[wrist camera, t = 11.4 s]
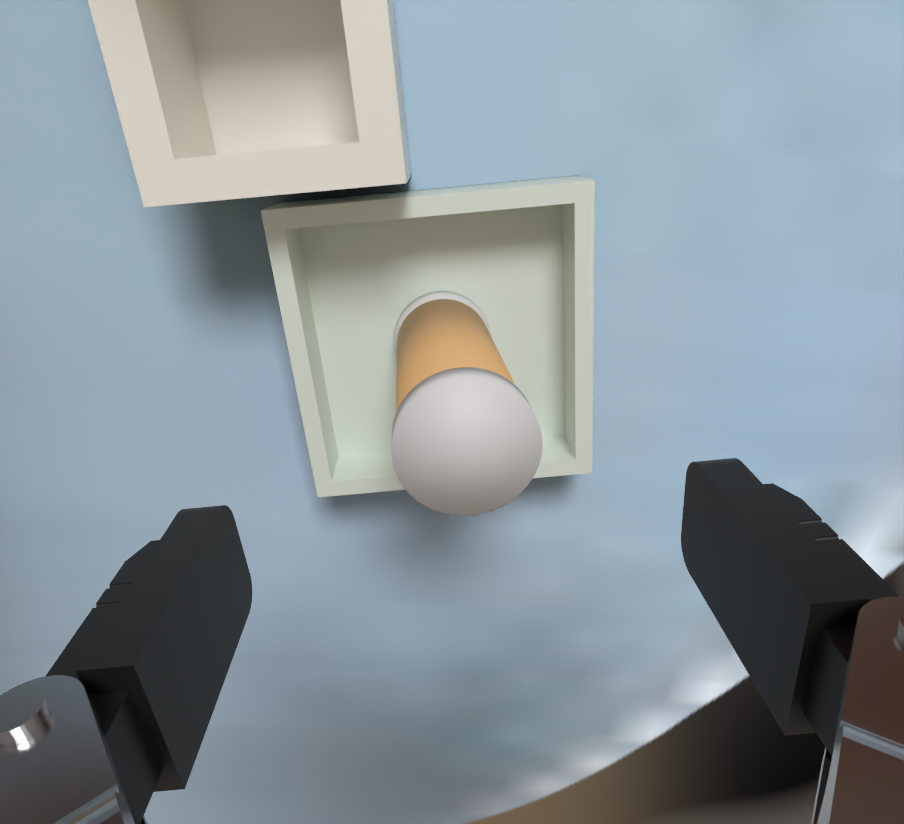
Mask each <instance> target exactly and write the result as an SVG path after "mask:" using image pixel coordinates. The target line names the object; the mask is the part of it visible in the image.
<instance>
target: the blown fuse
mask: <svg viewBox="0 0 904 824" xmlns="http://www.w3.org/2000/svg"><path fill="white" fill-rule="evenodd" d="M394 352H395V356H396V359H397V379H396V415H395V418H394V422H393V426H392V446H391V453H392V462H393V466H394V470H395V472H396V475H397V477H398V479H399V481H400V483H401V484H402V486H403V487H404V488H405V490H406V491H407V492H408V493H409V494H410V495H411V496H412V497H413V498H414V499H415V500H417V501H418V502H419V503H421V504H423V505H424V506H426V507H428V508H430V509H432V510H435V511H437V512H441V513H445V514H450V515H459V516H468V515H477V514H482V513H486V512H489V511H493V510H495V509H497V508H499V507H502V506H503V505H505V504H507V503H509V502H510V501H511V500H513V499H514V498H516V497H517V496H518V495H519V494H520V493H521V492H522V491H523V490H524V489H525V488H526V487H527V486H528V484H529V483H530V482H531V480H532V478H533V477H534V475H535V473H536V471H537V469H538V466H539V463H540V460H541V455H542V444H543V441H542V432H541V429H540V425H539V422H538V420H537V418H536V416H535V414H534V412H533V410H532V408H531V406H530V404H529V402H528V400H527V399H526V397H525V396H524V394H523V393H522V392H521V391H520V389H519V388H518V387H517V386H516V385H515V383H514V381H513V379H512V377H511V375H510V373H509V371H508V369H507V367H506V365H505V363H504V361H503V359H502V357H501V355H500V353H499V351H498V349H497V347H496V345H495V343H494V341H493V339H492V336H491V331H490V327H489V325H488V323H487V321H486V319H485V317H484V315H483V313H482V312H481V310H480V309H479V308H478V306H477V305H476V304H475V303H473V302H472V301H471V300H470V299H468V298H467V297H465V296H463V295H460V294H458V293H454V292H450V291H435V292H430V293H427V294H424V295H422V296H420V297H418V298H416V299H415V300H413V301H412V302H411V303H410V304H408V305H407V307H406V308H405V309H404V310H403V311H402V313H401V314H400V316H399V318H398V320H397V323H396V326H395V331H394Z"/></svg>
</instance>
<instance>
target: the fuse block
mask: <svg viewBox="0 0 904 824" xmlns="http://www.w3.org/2000/svg"><path fill="white" fill-rule="evenodd" d="M88 3H89V7H90V10H91V14H92V18H93V21H94V25H95V29H96V32H97V36H98V40H99V43H100V47H101V51H102V54H103V58H104V62H105V65H106V69H107V73H108V76H109V80H110V84H111V87H112V91H113V95H114V99H115V102H116V106H117V110H118V113H119V117H120V121H121V124H122V128H123V132H124V135H125V139H126V143H127V146H128V150H129V154H130V157H131V161H132V165H133V168H134V172H135V176H136V179H137V183H138V187H139V191H140V194H141V198H142V202H143V205H144V207H153V206H164V205H175V204H186V203H197V202H208V201H219V200H230V199H241V198H252V197H263V196H274V195H285V194H296V193H307V192H318V191H329V190H340V189H350V188H361V187H372V186H383V185H394V184H405V183H407V182H408V180H409V178H410V176H411V168H410V158H409V149H408V139H407V129H406V120H405V110H404V100H403V91H402V81H401V71H400V61H399V52H398V42H397V32H396V23H395V13H394V3H393V0H88Z"/></svg>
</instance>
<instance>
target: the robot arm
mask: <svg viewBox="0 0 904 824" xmlns="http://www.w3.org/2000/svg"><path fill="white" fill-rule="evenodd" d="M681 545H682V552H683V557H684V561H685V564H686V567H687V569H688V571H689V573H690V575H691V577H692V578H693V580H694V582H695V583H696V585H697V587H698V589H699V590H700V592H701V594H702V595H703V597H704V599H705V600H706V602H707V604H708V606H709V607H710V609H711V611H712V612H713V614H714V616H715V617H716V619H717V621H718V623H719V624H720V626H721V628H722V629H723V631H724V633H725V634H726V636H727V638H728V639H729V641H730V643H731V645H732V646H733V648H734V650H735V651H736V653H737V655H738V656H739V658H740V660H741V662H742V663H743V665H744V667H745V668H746V670H747V672H748V673H749V675H750V677H751V678H752V680H753V682H754V683H755V685H756V687H757V688H758V690H759V692H760V694H761V695H762V697H763V699H764V701H765V702H766V704H767V705H768V707H769V709H770V711H771V712H772V714H773V716H774V717H775V719H776V721H777V723H778V724H779V726H780V727H781V729H782V731H783V733H784V734H785V735H794V734H806V733H817V734H818V736H819V737H820V739H821V740H822V741H823V743H824V745H825V747H826V749H825V753H824V757H823V761H822V766H821V772H820V778H819V783H818V789H817V794H816V800H815V805H814V811H813V817H812V822H811V824H904V597H900V596H899V595H898V594H897V593H896V592H895V591H894V590H893V589H892V588H891V587H890V586H889V585H888V584H887V583H886V582H885V581H884V580H883V579H882V578H881V577H880V576H879V575H878V574H877V573H876V572H875V571H874V570H873V569H872V568H871V567H870V566H869V565H868V564H867V563H866V562H865V561H864V560H863V559H862V558H861V557H860V556H859V555H858V554H857V553H856V552H855V551H854V550H853V549H852V548H851V547H850V546H849V545H848V544H847V543H846V542H845V541H844V540H843V539H840V540H839V538H838V535H837V534H836V533H835V532H834V531H833V530H832V529H831V528H830V527H829V526H828V525H827V524H826V523H822V521H821V518H820V517H819V516H818V515H817V514H816V513H815V512H814V511H813V510H812V509H811V508H810V507H809V506H808V505H807V504H806V503H805V502H804V501H803V500H802V499H801V498H799V497H797V496H795V495H793V494H791V493H789V492H788V491H786V490H784V489H782V488H780V487H778V486H776V485H774V484H762V483H761V482H760V481H759V480H758V479H757V478H756V477H755V476H754V474H753V473H752V472H751V471H750V470H749V469H748V468H747V467H746V466H745V465H744V464H743V463H742V462H741V461H740V460H739V459H737V458H731V459H720V460H710V461H699V462H692V463H690V465H689V466H688V469H687V473H686V483H685V495H684V507H683V519H682V531H681ZM251 602H252V583H251V577H250V573H249V569H248V565H247V562H246V558H245V555H244V551H243V548H242V544H241V541H240V537H239V534H238V530H237V526H236V523H235V519H234V516H233V514H232V511H231V510H230V508H229V507H228V506H225V505H223V506H212V507H202V508H191V509H183V510H181V511H179V512H178V514H177V515H176V516H175V518H174V520H173V521H172V523H171V524H170V526H169V527H168V529H167V530H166V532H165V533H164V535H163V536H162V538H161V540H157V541H150V542H149V543H148V544H147V545H145V546H144V547H143V548H142V549H140V550H139V551H138V552H137V553H135V554H134V555H133V556H132V557H130V558H129V559H128V560H127V561H125V563H124V564H123V566H122V567H121V569H120V570H119V571H118V573H117V574H116V576H115V577H114V579H113V580H112V581H111V583H110V588H109V589H106V590H105V592H104V593H103V594H102V596H101V597H100V599H99V600H98V602H97V603H96V604H97V607H96V608H93V609H92V610H91V612H90V613H89V615H88V616H87V617H86V619H85V620H84V622H83V623H82V625H81V626H80V627H79V629H78V630H77V632H76V633H75V635H74V636H73V638H72V639H71V640H70V642H69V643H68V645H67V646H66V648H65V649H64V650H63V652H62V653H61V655H60V656H59V658H58V659H57V661H56V662H55V663H54V665H53V666H52V668H51V669H50V671H49V672H48V673H47V675H46V676H45V677H41V678H37V679H34V680H31V681H28V682H25V683H23V684H21V685H18V686H16V687H14V688H12V689H10V690H9V691H7V692H5V693H3V694H2V695H0V824H148V823H147V821H146V819H145V817H144V813H145V811H146V808H147V806H148V803H149V801H150V798H151V796H152V794H153V792H156V791H167V790H178V789H185V787H186V784H187V781H188V778H189V776H190V773H191V770H192V767H193V765H194V762H195V759H196V757H197V754H198V751H199V748H200V746H201V743H202V740H203V737H204V735H205V732H206V729H207V727H208V724H209V721H210V718H211V716H212V713H213V710H214V707H215V705H216V702H217V699H218V697H219V694H220V691H221V688H222V686H223V683H224V680H225V678H226V675H227V672H228V669H229V667H230V664H231V661H232V658H233V656H234V653H235V650H236V648H237V645H238V642H239V639H240V637H241V634H242V631H243V628H244V626H245V623H246V620H247V618H248V615H249V612H250V608H251Z"/></svg>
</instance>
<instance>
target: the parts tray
mask: <svg viewBox="0 0 904 824" xmlns="http://www.w3.org/2000/svg"><path fill="white" fill-rule="evenodd" d="M594 203H595V180H592V179H588V178H584V177H580V176H568V177H557V178H546V179H535V180H524V181H513V182H502V183H491V184H480V185H469V186H458V187H447V188H436V189H425V190H414V191H403V192H392V193H381V194H370V195H359V196H348V197H338V198H327V199H316V200H305V201H294V202H283V203H278V204H275V205H273V206H270V207H268V208H266V209H263V210H261V216H262V221H263V226H264V231H265V236H266V241H267V246H268V251H269V256H270V261H271V266H272V271H273V276H274V281H275V286H276V291H277V296H278V301H279V306H280V311H281V316H282V321H283V326H284V331H285V336H286V341H287V346H288V351H289V356H290V361H291V366H292V371H293V376H294V381H295V386H296V391H297V396H298V401H299V406H300V411H301V416H302V421H303V426H304V431H305V436H306V441H307V446H308V451H309V456H310V461H311V466H312V471H313V476H314V481H315V486H316V491H317V496H318V497H329V496H340V495H351V494H362V493H373V492H385V491H396V490H405V488H404V487H403V486H402V484H401V483H400V481H399V479H398V477H397V475H396V472H395V470H394V466H393V462H392V453H391V446H392V426H393V422H394V418H395V415H396V379H397V359H396V356H395V352H394V331H395V326H396V323H397V320H398V318H399V316H400V314H401V313H402V311H403V310H404V309H405V308H406V307H407V305H408V304H410V303H411V302H412V301H413V300H415V299H416V298H418V297H420V296H422V295H424V294H427V293H430V292H435V291H450V292H454V293H458V294H460V295H463V296H465V297H467V298H468V299H470V300H471V301H472V302H473V303H475V304H476V305H477V306H478V308H479V309H480V310H481V312H482V313H483V315H484V317H485V319H486V321H487V323H488V325H489V327H490V331H491V336H492V339H493V341H494V343H495V345H496V347H497V349H498V351H499V353H500V355H501V357H502V359H503V361H504V363H505V365H506V367H507V369H508V371H509V373H510V375H511V377H512V379H513V381H514V383H515V385H516V386H517V387H518V388H519V389H520V391H521V392H522V393H523V394H524V396H525V397H526V399H527V400H528V402H529V404H530V406H531V408H532V410H533V412H534V414H535V416H536V418H537V420H538V422H539V425H540V429H541V432H542V441H543V444H542V455H541V460H540V463H539V466H538V469H537V471H536V473H535V475H534V477H533V478H541V477H552V476H563V475H575V474H586V473H592V428H593V315H594Z"/></svg>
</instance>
